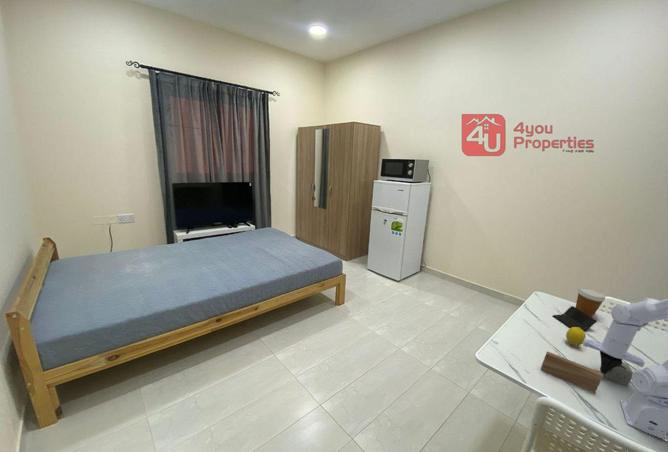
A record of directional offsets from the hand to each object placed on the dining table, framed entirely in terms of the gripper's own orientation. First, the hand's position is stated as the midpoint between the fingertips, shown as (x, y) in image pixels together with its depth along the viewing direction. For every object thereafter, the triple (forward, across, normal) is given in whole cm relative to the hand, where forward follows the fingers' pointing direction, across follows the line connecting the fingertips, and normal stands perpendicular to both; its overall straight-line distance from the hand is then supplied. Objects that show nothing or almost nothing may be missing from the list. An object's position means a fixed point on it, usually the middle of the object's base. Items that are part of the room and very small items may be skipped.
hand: (602, 371), depth 94 cm
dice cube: (+2, -4, -2) cm, 4 cm away
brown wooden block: (+1, +10, +11) cm, 15 cm away
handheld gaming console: (+2, +6, -31) cm, 32 cm away
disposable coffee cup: (+2, +1, -44) cm, 44 cm away
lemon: (+2, +7, -13) cm, 15 cm away
